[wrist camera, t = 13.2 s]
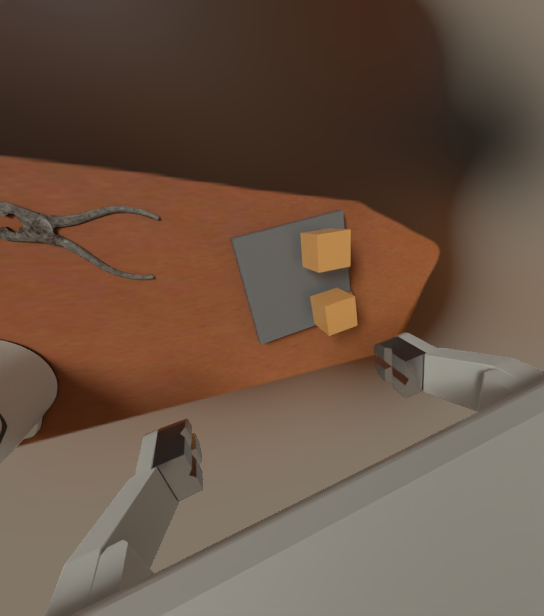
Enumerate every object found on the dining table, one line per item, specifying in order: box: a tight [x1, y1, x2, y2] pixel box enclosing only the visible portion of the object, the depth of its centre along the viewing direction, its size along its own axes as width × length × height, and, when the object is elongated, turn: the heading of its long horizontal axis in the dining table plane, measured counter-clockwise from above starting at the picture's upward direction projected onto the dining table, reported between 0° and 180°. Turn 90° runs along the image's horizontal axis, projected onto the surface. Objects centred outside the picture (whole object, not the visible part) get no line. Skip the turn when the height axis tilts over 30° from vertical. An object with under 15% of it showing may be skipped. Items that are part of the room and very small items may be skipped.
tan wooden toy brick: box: [300, 228, 351, 273], centre depth 36 cm, size 5×5×5 cm
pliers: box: [0, 202, 160, 280], centre depth 32 cm, size 10×1×20 cm
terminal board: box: [230, 210, 358, 344], centre depth 39 cm, size 18×18×9 cm
